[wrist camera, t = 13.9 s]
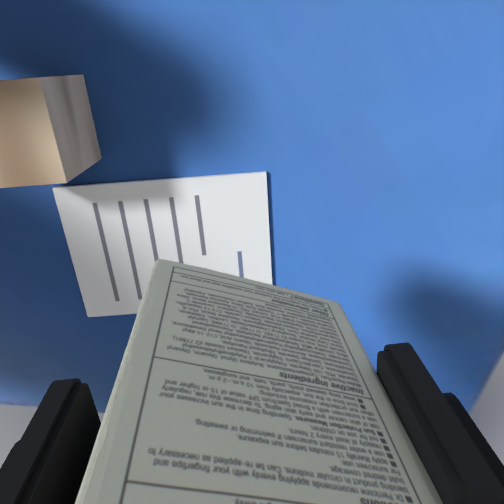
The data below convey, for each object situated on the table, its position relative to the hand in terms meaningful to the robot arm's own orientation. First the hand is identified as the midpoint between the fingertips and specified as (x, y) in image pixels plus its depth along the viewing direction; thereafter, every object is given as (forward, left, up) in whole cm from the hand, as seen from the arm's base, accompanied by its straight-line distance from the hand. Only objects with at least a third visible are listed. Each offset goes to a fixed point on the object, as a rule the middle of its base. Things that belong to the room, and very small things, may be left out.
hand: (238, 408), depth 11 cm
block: (-11, +5, -19) cm, 23 cm away
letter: (-5, -4, -19) cm, 20 cm away
